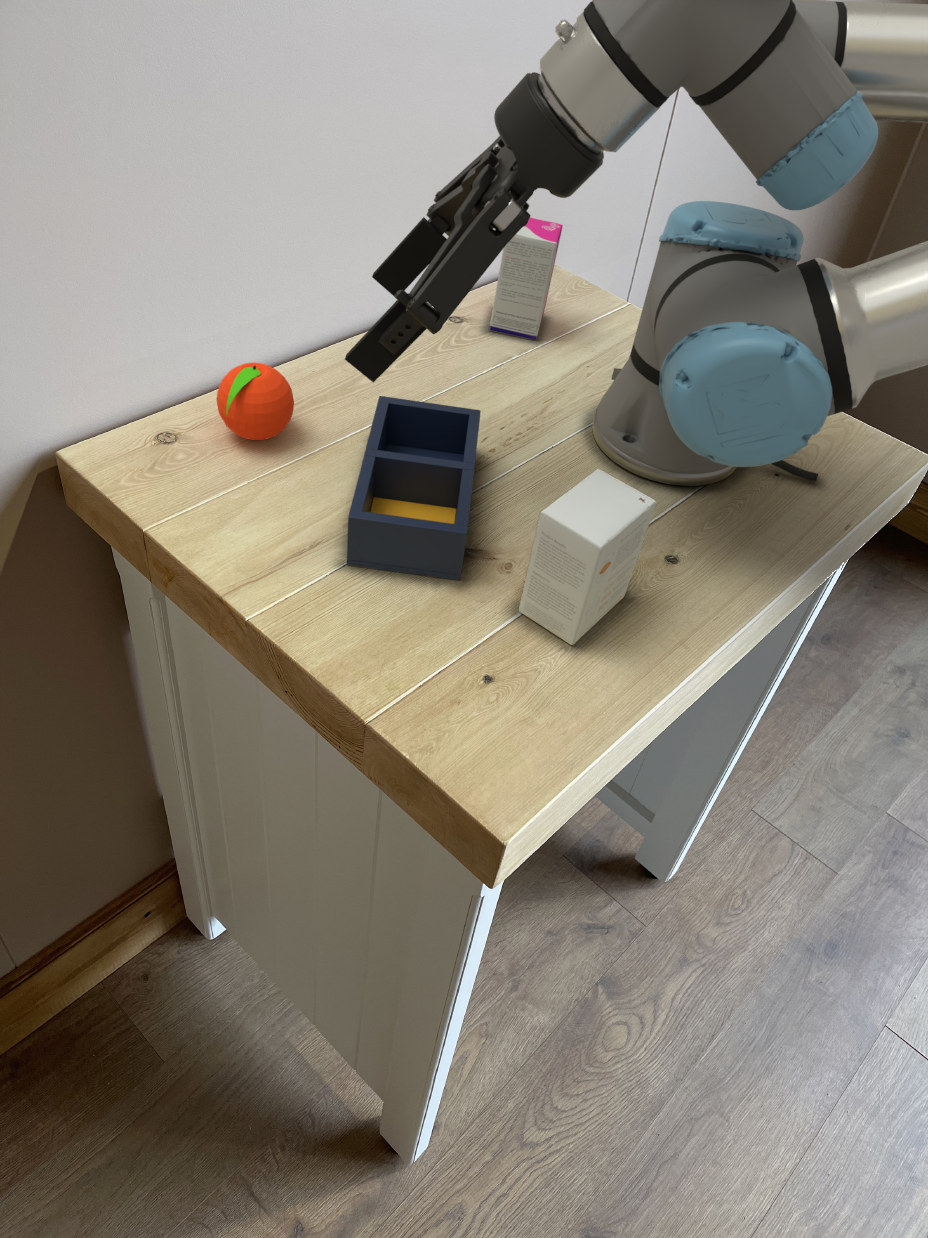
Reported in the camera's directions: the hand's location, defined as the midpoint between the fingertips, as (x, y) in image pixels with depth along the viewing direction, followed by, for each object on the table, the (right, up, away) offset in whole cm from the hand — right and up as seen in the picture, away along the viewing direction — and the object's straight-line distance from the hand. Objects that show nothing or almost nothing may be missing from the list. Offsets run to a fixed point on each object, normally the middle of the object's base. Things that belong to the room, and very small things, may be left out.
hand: (372, 324), depth 73 cm
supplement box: (+13, +11, +35) cm, 39 cm away
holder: (+3, -13, +9) cm, 16 cm away
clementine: (-12, -6, +14) cm, 19 cm away
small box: (+16, -22, +3) cm, 28 cm away
